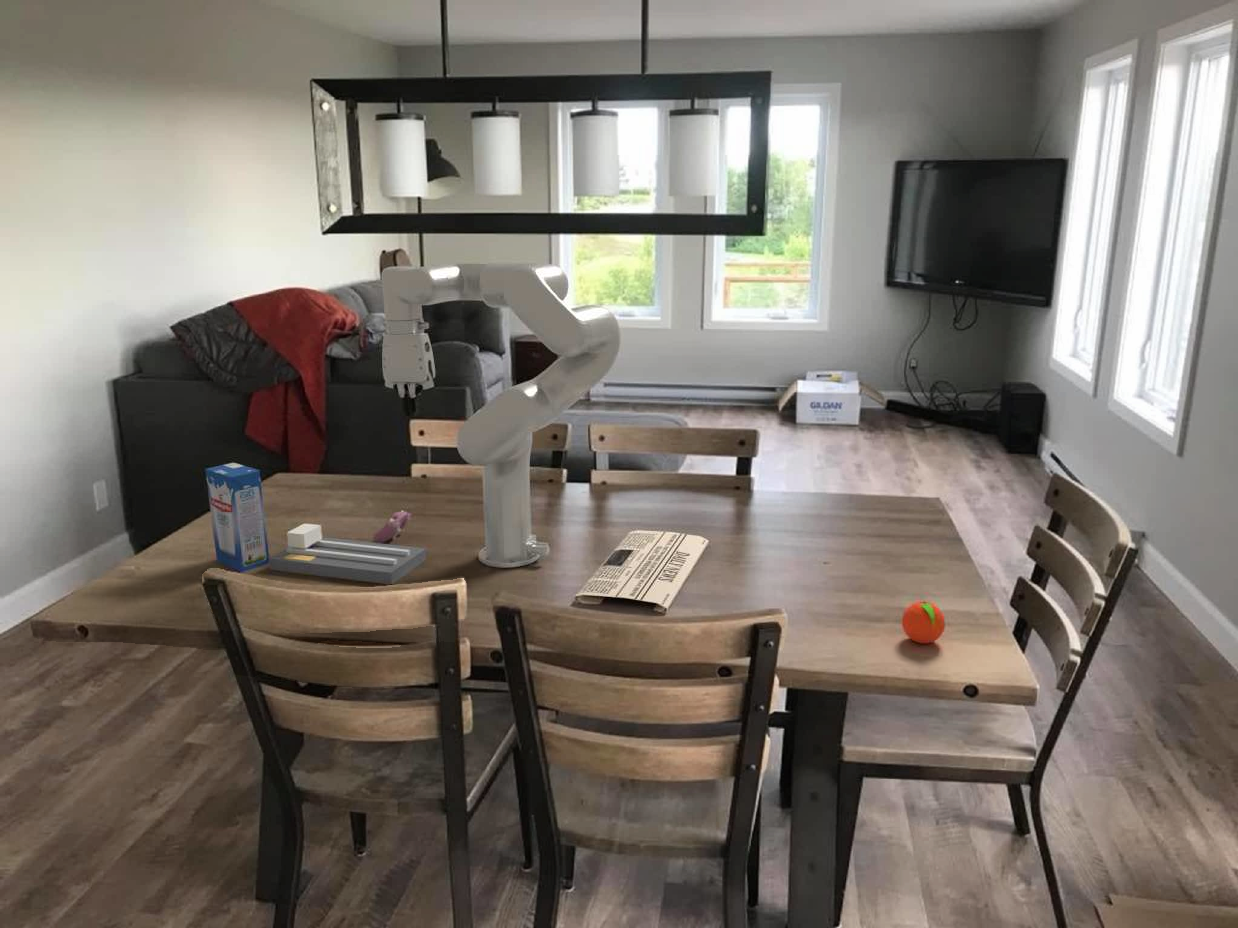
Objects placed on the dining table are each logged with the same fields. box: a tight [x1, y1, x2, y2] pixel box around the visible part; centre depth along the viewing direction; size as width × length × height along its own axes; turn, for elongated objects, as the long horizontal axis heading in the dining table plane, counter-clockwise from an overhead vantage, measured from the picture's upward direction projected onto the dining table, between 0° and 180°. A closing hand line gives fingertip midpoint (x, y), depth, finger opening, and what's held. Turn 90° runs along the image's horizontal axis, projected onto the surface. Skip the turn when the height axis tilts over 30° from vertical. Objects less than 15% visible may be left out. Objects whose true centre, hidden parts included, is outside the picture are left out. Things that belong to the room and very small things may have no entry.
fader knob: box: [286, 522, 323, 548], centre depth 205 cm, size 4×6×4 cm, turn 162°
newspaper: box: [573, 529, 710, 614], centre depth 197 cm, size 37×19×3 cm, turn 163°
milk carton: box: [204, 462, 270, 573], centre depth 202 cm, size 10×6×20 cm, turn 50°
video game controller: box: [372, 509, 412, 544], centre depth 218 cm, size 10×5×7 cm, turn 169°
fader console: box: [268, 536, 427, 585], centre depth 203 cm, size 28×14×3 cm, turn 72°
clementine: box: [901, 601, 946, 644], centre depth 165 cm, size 8×7×7 cm
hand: (411, 415), depth 208 cm, fingers closed
